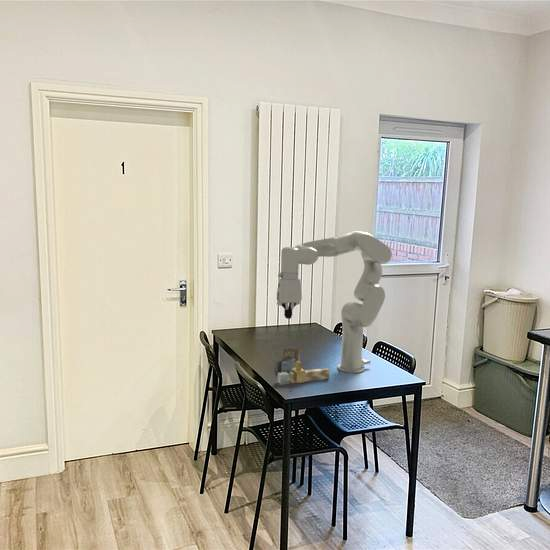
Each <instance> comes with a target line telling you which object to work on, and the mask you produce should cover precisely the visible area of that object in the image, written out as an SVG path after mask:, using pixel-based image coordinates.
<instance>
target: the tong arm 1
mask: <svg viewBox="0 0 550 550" xmlns="http://www.w3.org/2000/svg"><path fill="white" fill-rule="evenodd" d="M323 369H329V368H328V367H325V368H316V369H315V368H314V369H304V370H305V372H306V371H314V370H323ZM291 373H296V372H290V373H289V383H291Z"/></svg>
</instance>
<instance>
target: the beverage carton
mask: <svg viewBox="0 0 550 550" xmlns="http://www.w3.org/2000/svg"><path fill="white" fill-rule="evenodd" d="M300 354H301V351H300V349H299V348H284V349H283V353H282V357H281V360H280V361H281V365H280V366H281V367H280V370H281V373H282V372H289V373H288V374H290V372H292V368H296V361H300V360H301V359H300V358H301V355H300ZM300 362H301V361H300Z"/></svg>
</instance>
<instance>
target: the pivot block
mask: <svg viewBox="0 0 550 550" xmlns="http://www.w3.org/2000/svg"><path fill="white" fill-rule="evenodd" d="M289 380H290V373H287V372H282V371H281V372H277V383H279V384H278V385H279V386H284V385H283V384H287V385H290V381H289Z"/></svg>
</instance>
